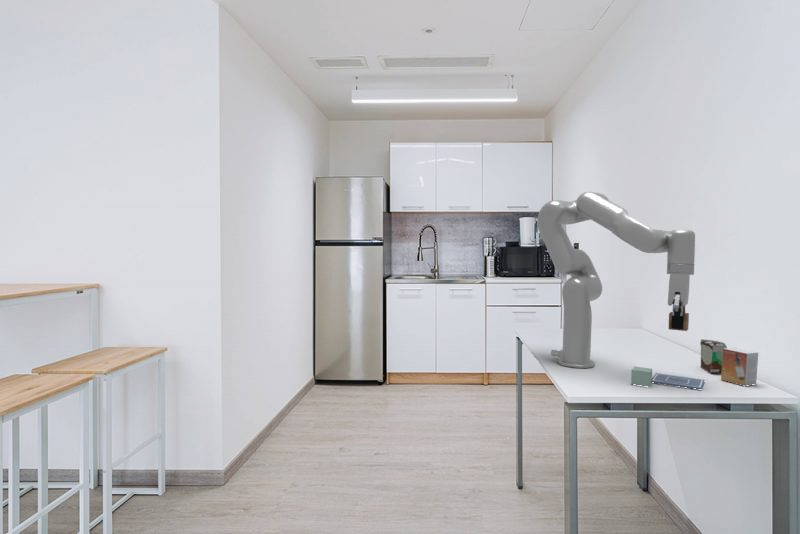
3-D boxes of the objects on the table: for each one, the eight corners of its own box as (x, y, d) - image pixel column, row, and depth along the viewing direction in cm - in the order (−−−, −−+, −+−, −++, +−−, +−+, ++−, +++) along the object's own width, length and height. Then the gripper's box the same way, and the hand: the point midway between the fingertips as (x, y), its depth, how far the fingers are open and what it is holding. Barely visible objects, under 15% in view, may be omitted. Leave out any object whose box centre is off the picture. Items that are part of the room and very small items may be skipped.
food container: (732, 376, 176) (733, 346, 176) (712, 375, 177) (713, 345, 177) (717, 367, 188) (719, 340, 188) (699, 366, 189) (700, 339, 189)
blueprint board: (650, 383, 166) (650, 380, 166) (656, 375, 176) (656, 372, 176) (701, 390, 158) (701, 387, 158) (704, 382, 168) (704, 379, 168)
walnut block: (668, 329, 165) (669, 313, 165) (670, 327, 169) (671, 311, 169) (686, 330, 162) (687, 314, 162) (688, 328, 166) (688, 313, 166)
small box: (720, 380, 171) (722, 348, 170) (732, 379, 173) (733, 347, 172) (745, 387, 163) (746, 353, 163) (756, 385, 165) (758, 352, 165)
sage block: (631, 385, 163) (631, 369, 163) (634, 382, 167) (634, 366, 167) (648, 388, 160) (649, 372, 160) (651, 384, 164) (652, 368, 164)
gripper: (670, 268, 174) (668, 323, 175) (663, 270, 160) (661, 329, 161) (696, 269, 170) (694, 325, 171) (691, 271, 156) (689, 332, 157)
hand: (678, 326), depth 166 cm, fingers closed on walnut block, 4 cm apart
